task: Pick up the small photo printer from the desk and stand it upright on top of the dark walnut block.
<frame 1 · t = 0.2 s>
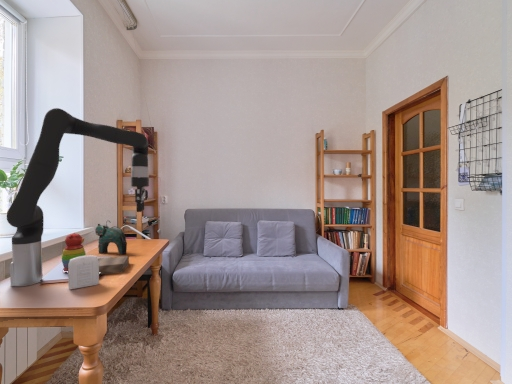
hand: (140, 210, 119), 29 cm above the table, tool pointing down, fingers open, 8 cm apart
walnut block: (110, 269, 123), on the table
stacking bear: (75, 270, 122), on the table
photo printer: (84, 286, 102), on the table
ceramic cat: (112, 253, 152), on the table
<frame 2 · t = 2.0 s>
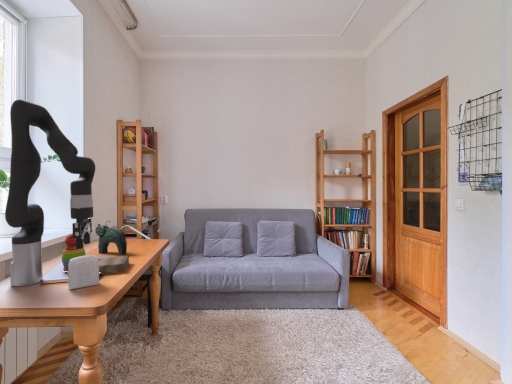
hand: (83, 246, 102), 16 cm above the table, tool pointing down, fingers open, 8 cm apart
nothing on the table moved.
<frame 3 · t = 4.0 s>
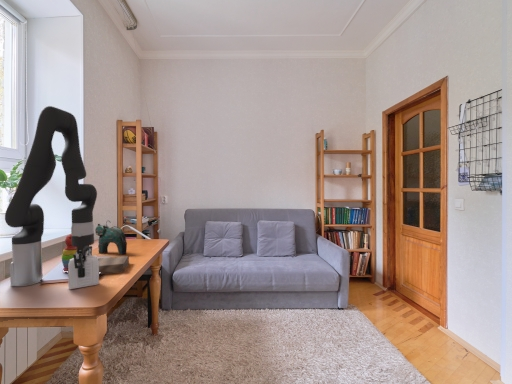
hand: (84, 274, 102), 5 cm above the table, tool pointing down, fingers closed on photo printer, 5 cm apart
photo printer: (84, 286, 102), on the table, touching gripper
everything else where it was.
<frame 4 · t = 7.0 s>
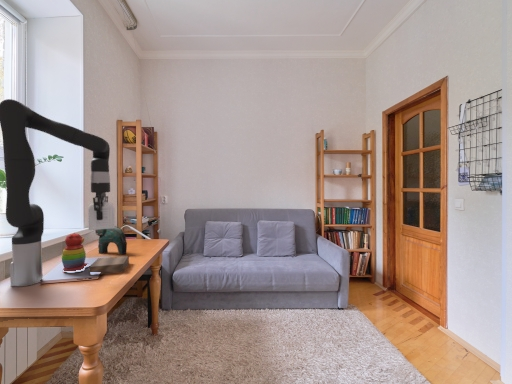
hand: (101, 218, 115), 26 cm above the table, tool pointing down, fingers closed on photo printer, 5 cm apart
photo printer: (102, 229, 115), point 21 cm above the table, touching gripper
everything else where it was.
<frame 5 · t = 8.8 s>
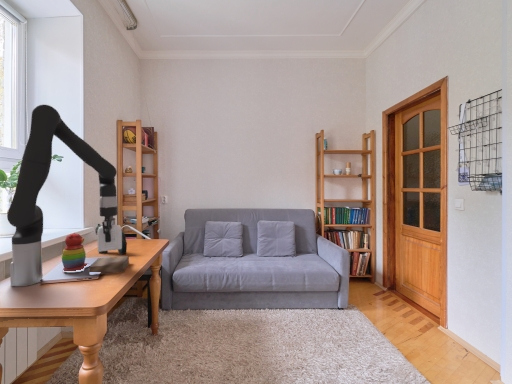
hand: (109, 240, 122), 14 cm above the table, tool pointing down, fingers closed on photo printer, 5 cm apart
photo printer: (110, 250, 123), point 9 cm above the table, touching gripper
everything else where it was.
when the fingers open (10 cm above the table, at t = 10.1 s): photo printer stays where it is, resting on walnut block.
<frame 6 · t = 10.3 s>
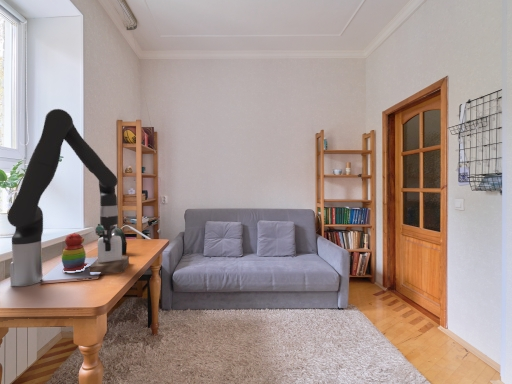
hand: (109, 249, 123), 10 cm above the table, tool pointing down, fingers open, 6 cm apart
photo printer: (110, 261, 123), point 4 cm above the table, touching walnut block
everything else where it was.
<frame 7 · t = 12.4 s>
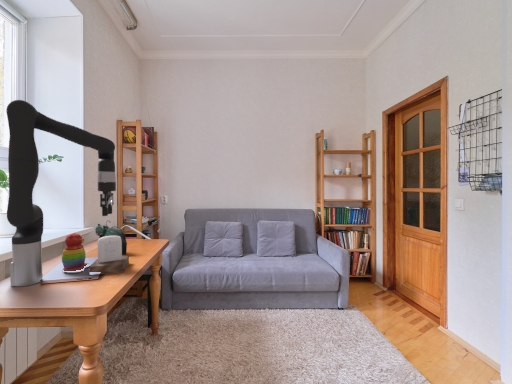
hand: (107, 214, 122), 27 cm above the table, tool pointing down, fingers open, 8 cm apart
nothing on the table moved.
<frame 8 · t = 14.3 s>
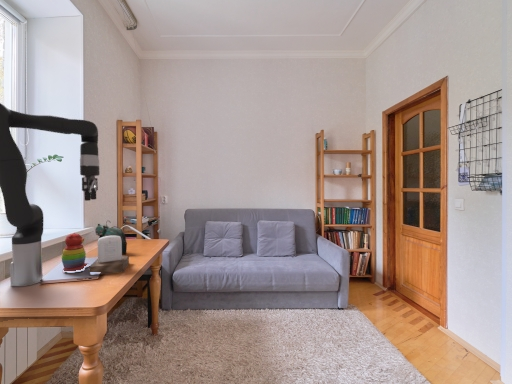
hand: (90, 200, 118), 34 cm above the table, tool pointing down, fingers open, 8 cm apart
nothing on the table moved.
at the end: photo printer inside the target area on the walnut block (0.1 cm from its centre), point 3.8 cm above the walnut block's base; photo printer tilted 0°; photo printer touching walnut block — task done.
